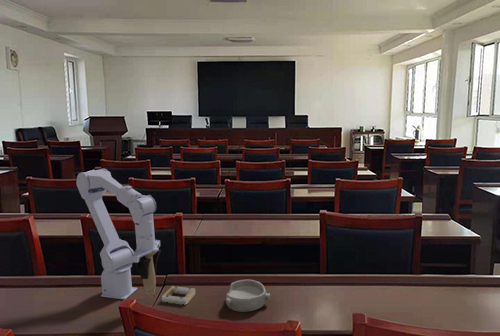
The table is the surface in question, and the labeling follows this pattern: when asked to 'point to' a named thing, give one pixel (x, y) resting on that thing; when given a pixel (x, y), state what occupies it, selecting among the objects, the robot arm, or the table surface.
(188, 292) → the square frame
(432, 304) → the table surface
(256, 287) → the dish
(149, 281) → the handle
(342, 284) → the table surface
